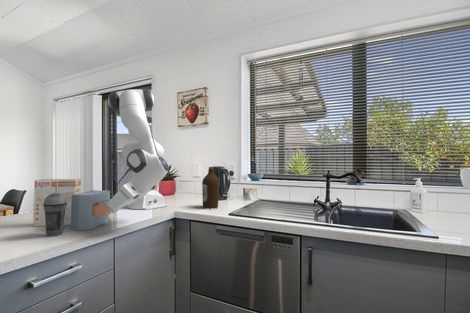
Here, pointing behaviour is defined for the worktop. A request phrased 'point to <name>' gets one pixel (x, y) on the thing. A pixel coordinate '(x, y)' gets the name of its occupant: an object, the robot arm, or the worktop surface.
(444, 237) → the worktop surface
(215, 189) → the olive oil
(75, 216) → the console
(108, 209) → the terracotta button
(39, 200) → the coffeecake box
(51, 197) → the beverage cup
